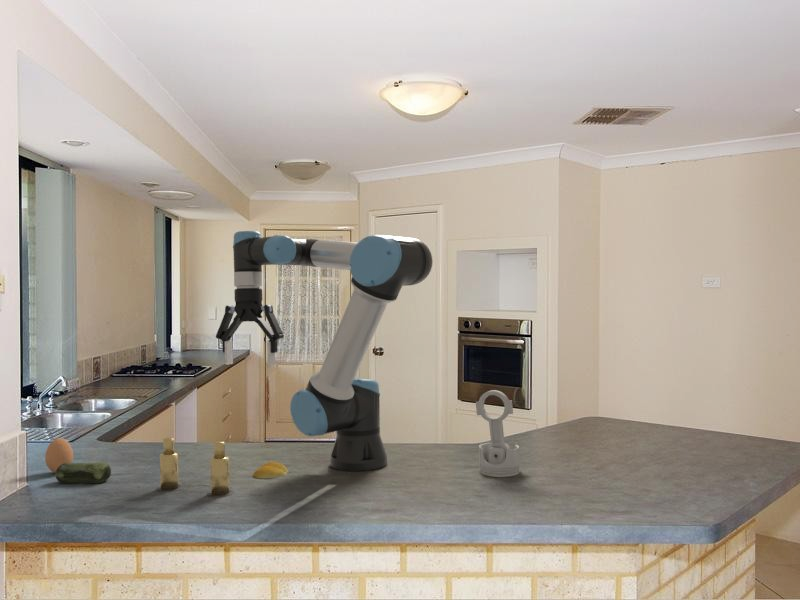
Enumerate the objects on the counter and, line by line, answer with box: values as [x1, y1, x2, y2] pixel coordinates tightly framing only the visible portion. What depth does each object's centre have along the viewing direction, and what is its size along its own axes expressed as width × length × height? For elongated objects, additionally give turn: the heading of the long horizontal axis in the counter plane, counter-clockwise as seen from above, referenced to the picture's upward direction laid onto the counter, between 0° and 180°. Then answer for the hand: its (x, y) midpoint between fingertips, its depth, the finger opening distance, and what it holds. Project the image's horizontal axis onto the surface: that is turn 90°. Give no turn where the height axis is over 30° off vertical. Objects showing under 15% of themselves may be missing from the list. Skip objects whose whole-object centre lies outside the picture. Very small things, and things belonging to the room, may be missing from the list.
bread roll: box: [252, 461, 289, 480], centre depth 170 cm, size 8×9×4 cm
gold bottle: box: [209, 440, 231, 496], centre depth 154 cm, size 4×4×12 cm
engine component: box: [475, 389, 520, 478], centre depth 173 cm, size 11×20×10 cm
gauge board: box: [155, 482, 235, 498], centre depth 156 cm, size 24×12×1 cm, turn 69°
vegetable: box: [54, 461, 112, 484], centre depth 171 cm, size 14×5×5 cm, turn 88°
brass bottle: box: [159, 437, 180, 491], centre depth 159 cm, size 4×4×12 cm
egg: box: [44, 437, 74, 474], centre depth 181 cm, size 7×7×9 cm
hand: (250, 364), depth 189 cm, fingers open, 13 cm apart
